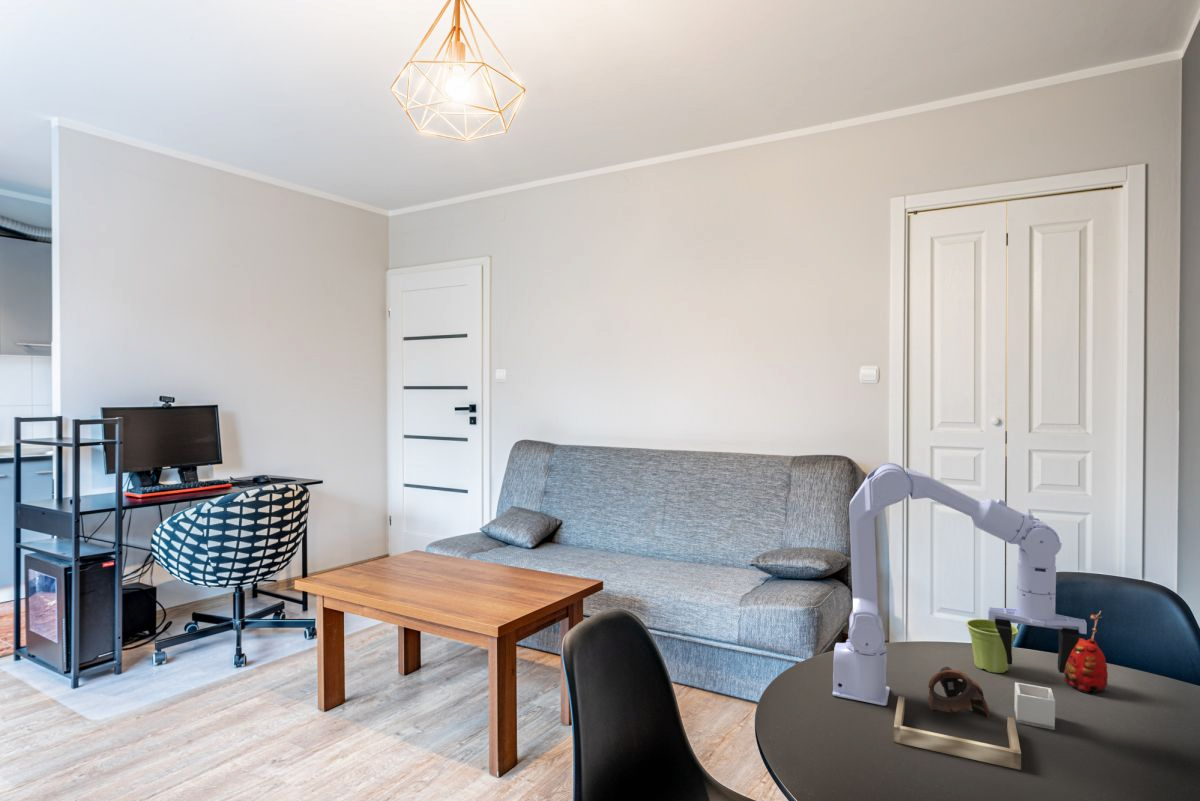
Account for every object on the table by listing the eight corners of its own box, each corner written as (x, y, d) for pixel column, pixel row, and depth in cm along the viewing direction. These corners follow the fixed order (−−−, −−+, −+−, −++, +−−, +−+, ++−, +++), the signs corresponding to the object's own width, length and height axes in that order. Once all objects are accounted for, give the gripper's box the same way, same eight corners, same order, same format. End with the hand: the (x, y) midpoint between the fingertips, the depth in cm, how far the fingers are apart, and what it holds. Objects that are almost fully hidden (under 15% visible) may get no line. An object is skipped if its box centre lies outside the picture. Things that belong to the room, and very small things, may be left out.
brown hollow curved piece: (1003, 727, 119) (987, 691, 117) (950, 746, 120) (933, 711, 119) (971, 681, 130) (956, 647, 128) (923, 698, 132) (907, 665, 130)
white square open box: (1017, 722, 119) (1017, 694, 119) (1014, 709, 124) (1014, 682, 124) (1054, 730, 117) (1055, 701, 117) (1050, 716, 122) (1050, 688, 122)
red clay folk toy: (1055, 677, 138) (1057, 603, 137) (1092, 679, 137) (1094, 604, 137) (1078, 695, 130) (1080, 616, 130) (1118, 696, 129) (1119, 617, 129)
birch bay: (893, 741, 113) (893, 726, 113) (898, 709, 124) (898, 696, 124) (1020, 769, 105) (1021, 753, 105) (1014, 732, 116) (1014, 718, 116)
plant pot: (958, 657, 148) (959, 617, 148) (1005, 659, 147) (1005, 619, 146) (976, 675, 139) (976, 633, 138) (1026, 678, 137) (1026, 635, 137)
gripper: (989, 590, 120) (988, 667, 120) (1090, 602, 113) (1089, 683, 113) (987, 579, 126) (986, 653, 126) (1083, 590, 119) (1081, 667, 120)
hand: (1034, 666), depth 120 cm, fingers open, 7 cm apart
